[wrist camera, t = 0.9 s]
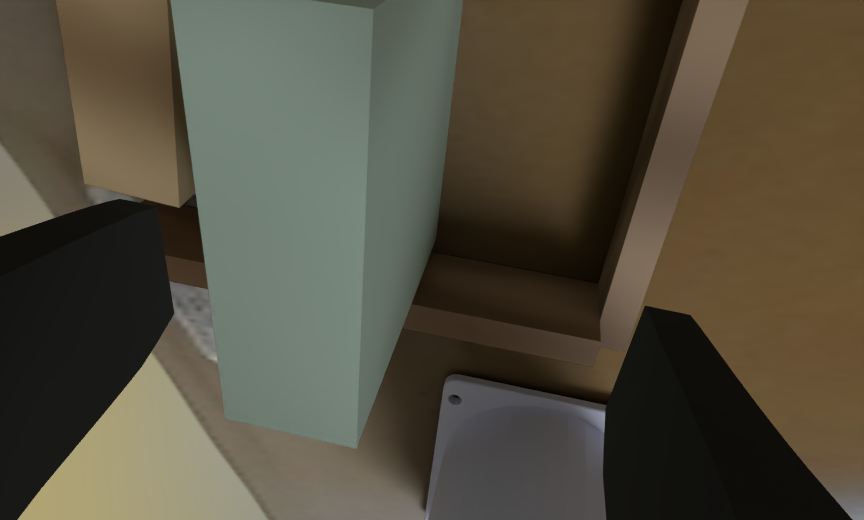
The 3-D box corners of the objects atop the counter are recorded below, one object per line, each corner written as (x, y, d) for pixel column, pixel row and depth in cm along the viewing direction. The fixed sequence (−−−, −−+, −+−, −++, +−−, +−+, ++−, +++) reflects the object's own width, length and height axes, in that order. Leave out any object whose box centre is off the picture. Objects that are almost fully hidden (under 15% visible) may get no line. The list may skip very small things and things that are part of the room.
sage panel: (436, 239, 21) (356, 448, 13) (349, 222, 21) (225, 418, 14) (470, -61, 16) (373, 9, 8) (356, -76, 16) (167, -21, 9)
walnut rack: (621, 313, 21) (626, 374, 18) (150, 222, 23) (98, 267, 20) (758, -98, 14) (795, -89, 12) (78, -177, 16) (-12, -183, 14)
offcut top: (198, 189, 20) (179, 207, 19) (108, 167, 20) (84, 183, 19) (190, -35, 16) (165, -27, 15) (78, -62, 16) (47, -55, 15)
